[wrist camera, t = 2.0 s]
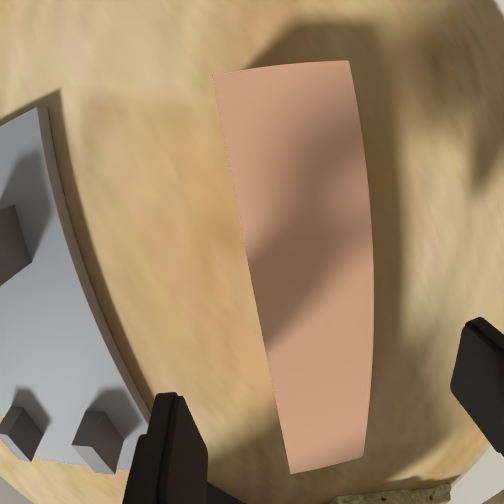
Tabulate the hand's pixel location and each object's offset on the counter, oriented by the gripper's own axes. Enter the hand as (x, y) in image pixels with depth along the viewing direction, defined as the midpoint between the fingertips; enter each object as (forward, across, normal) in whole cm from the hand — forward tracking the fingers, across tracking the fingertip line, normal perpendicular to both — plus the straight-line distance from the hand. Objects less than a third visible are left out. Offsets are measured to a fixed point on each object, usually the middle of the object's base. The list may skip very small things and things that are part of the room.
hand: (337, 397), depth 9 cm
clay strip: (+7, 0, -1) cm, 7 cm away
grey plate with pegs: (+7, +17, 0) cm, 18 cm away
